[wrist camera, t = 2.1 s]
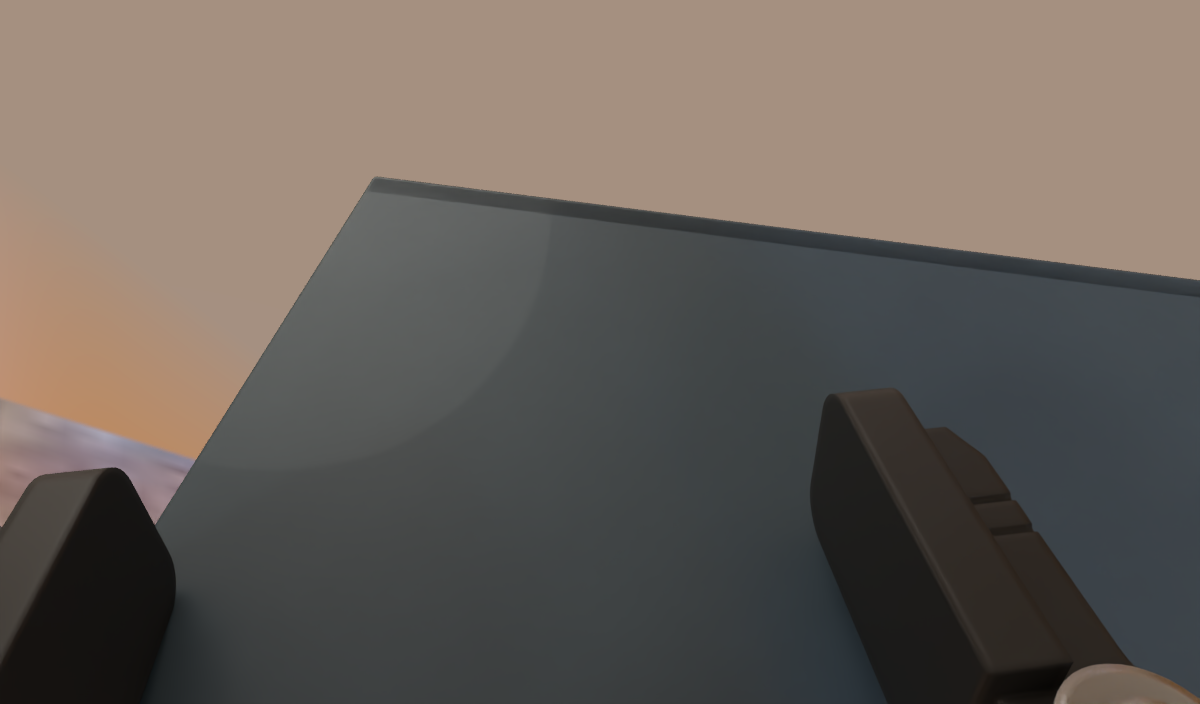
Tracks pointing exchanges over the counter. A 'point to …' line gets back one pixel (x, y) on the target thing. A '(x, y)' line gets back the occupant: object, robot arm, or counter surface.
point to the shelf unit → (650, 456)
